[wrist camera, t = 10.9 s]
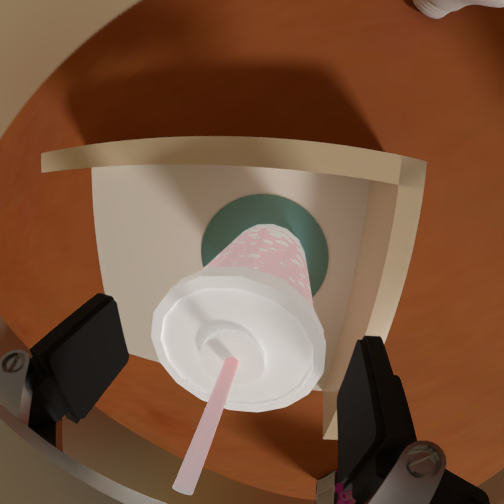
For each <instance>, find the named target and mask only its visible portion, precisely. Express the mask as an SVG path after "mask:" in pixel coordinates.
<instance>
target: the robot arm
mask: <svg viewBox="0 0 504 504" xmlns="http://www.w3.org/2000/svg"><path fill="white" fill-rule="evenodd" d="M30 352H31V354H32V356H33V357H32V358H31V359H30V357H29V356H28V354H27V353H26V352H25V351H23V350H13V351H11V352H8V353H7V354H5V355H4V356H3V357H2V358H1V360H0V504H167V503H164V502H161V501H158V500H156V499H153V498H150V497H148V496H145V495H143V494H140V493H138V492H136V491H133V490H131V489H129V488H127V487H125V486H122V485H120V484H118V483H116V482H114V481H112V480H110V479H108V478H106V477H104V476H102V475H100V474H98V473H97V472H95V471H93V470H91V469H89V468H88V467H85V466H84V465H82V464H81V463H79V462H77V461H76V460H74V459H72V458H71V457H69V456H68V455H66V454H65V453H63V447H62V417H63V416H64V415H65V416H66V417H67V418H68V419H69V420H71V421H73V422H75V423H76V424H77V423H78V422H79V420H80V419H83V418H85V416H86V415H87V414H88V412H89V411H90V410H91V409H92V407H93V406H94V405H95V403H96V402H97V401H98V399H99V398H100V397H101V396H102V394H103V393H104V392H105V390H106V389H107V388H108V386H109V385H110V384H111V383H112V381H113V380H114V379H115V377H116V376H117V375H118V374H119V372H120V371H121V370H122V369H123V367H124V366H125V365H126V363H127V362H128V359H129V354H128V350H127V346H126V342H125V338H124V334H123V329H122V325H121V320H120V316H119V311H118V306H117V303H116V301H114V298H113V297H112V296H109V295H105V294H102V293H98V294H96V295H95V296H94V297H93V298H91V299H90V300H89V301H87V302H86V303H85V304H84V305H82V306H81V307H80V308H79V309H77V310H76V311H75V312H74V313H72V314H71V315H70V316H69V317H67V318H66V319H65V320H64V321H63V322H61V323H60V324H59V325H58V326H57V327H55V328H54V329H53V330H52V331H51V332H49V333H48V334H47V335H46V336H45V337H44V338H42V339H41V340H40V341H39V342H38V343H37V344H35V345H34V346H33V347H32V348H31V349H30ZM337 427H338V482H339V483H343V491H348V490H352V498H353V499H355V501H354V502H353V503H352V504H490V502H489V498H488V496H487V494H486V493H485V492H484V491H483V490H481V489H479V488H478V487H476V486H474V485H472V484H471V483H469V482H467V481H465V480H464V479H462V478H460V477H458V476H457V475H455V474H453V473H451V472H450V471H448V470H446V469H445V467H446V456H445V454H444V452H443V450H442V449H441V448H440V447H439V446H438V445H436V444H435V443H433V442H429V441H417V438H416V434H415V430H414V426H413V422H412V418H411V414H410V411H409V407H408V403H407V400H406V396H405V393H404V390H403V386H402V383H401V380H400V378H399V377H398V376H397V375H393V372H392V368H391V365H390V362H389V359H388V356H387V352H386V349H385V346H384V343H383V340H382V338H381V337H380V336H366V335H365V336H364V337H363V338H362V340H359V339H358V340H357V342H356V344H355V348H354V351H353V354H352V356H351V359H350V362H349V365H348V368H347V371H346V373H345V376H344V379H343V381H342V384H341V387H340V389H339V392H338V395H337Z"/></svg>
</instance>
